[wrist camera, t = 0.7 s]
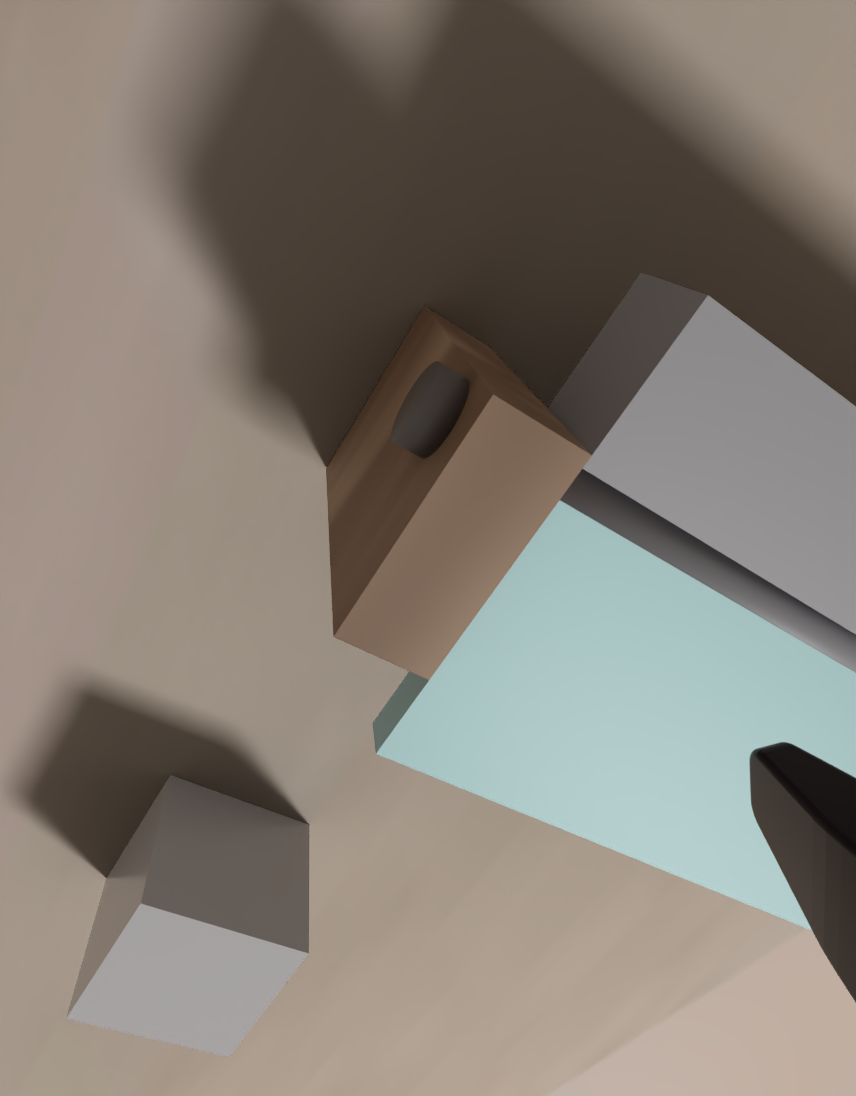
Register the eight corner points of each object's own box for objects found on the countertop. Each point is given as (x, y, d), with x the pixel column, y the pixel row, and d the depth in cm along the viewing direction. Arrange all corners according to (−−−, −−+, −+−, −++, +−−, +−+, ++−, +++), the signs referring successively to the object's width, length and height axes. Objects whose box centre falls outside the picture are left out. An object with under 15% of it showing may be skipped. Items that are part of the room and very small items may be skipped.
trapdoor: (1036, 564, 20) (1146, 625, 18) (760, 845, 24) (817, 932, 21) (641, 271, 16) (708, 295, 13) (366, 670, 19) (376, 753, 16)
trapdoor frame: (908, 616, 26) (1149, 799, 19) (806, 724, 28) (990, 934, 20) (404, 292, 20) (462, 374, 12) (306, 458, 21) (303, 623, 14)
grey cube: (309, 822, 27) (308, 953, 23) (241, 917, 29) (228, 1057, 24) (170, 773, 25) (140, 903, 21) (107, 876, 27) (66, 1018, 22)
